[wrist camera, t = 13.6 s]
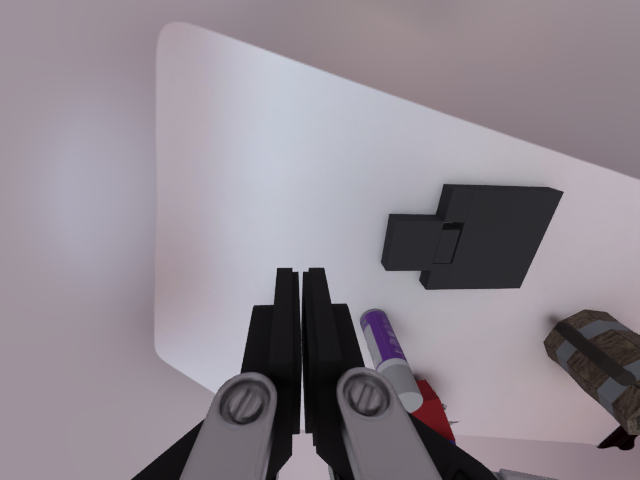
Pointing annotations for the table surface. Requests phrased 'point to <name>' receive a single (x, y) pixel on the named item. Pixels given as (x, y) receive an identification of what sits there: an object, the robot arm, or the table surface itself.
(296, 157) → the table surface
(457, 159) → the table surface
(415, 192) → the table surface
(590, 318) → the mug
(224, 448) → the robot arm
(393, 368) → the container
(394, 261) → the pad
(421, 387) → the alarm clock
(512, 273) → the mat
